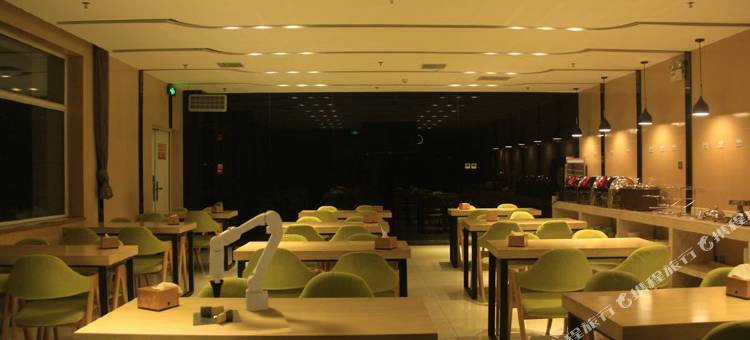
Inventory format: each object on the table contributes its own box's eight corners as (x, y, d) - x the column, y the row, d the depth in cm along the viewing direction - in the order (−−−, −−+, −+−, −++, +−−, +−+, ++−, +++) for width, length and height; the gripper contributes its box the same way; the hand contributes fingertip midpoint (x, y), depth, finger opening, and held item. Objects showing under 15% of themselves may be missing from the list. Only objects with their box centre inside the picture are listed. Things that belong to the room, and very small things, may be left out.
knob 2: (225, 317, 233) (224, 308, 233) (235, 317, 232) (234, 308, 232) (213, 322, 224) (213, 313, 224) (223, 323, 223) (223, 314, 223)
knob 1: (200, 316, 235) (200, 307, 235) (200, 313, 239) (200, 305, 239) (223, 314, 238) (223, 306, 238) (223, 312, 242) (223, 303, 242)
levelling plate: (237, 312, 247) (237, 308, 247) (241, 324, 226) (241, 320, 226) (193, 315, 242) (193, 311, 242) (193, 328, 221) (193, 324, 221)
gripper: (206, 263, 250) (206, 294, 250) (207, 268, 236) (207, 301, 236) (223, 262, 252) (223, 293, 252) (224, 267, 239) (224, 300, 238)
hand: (216, 297), depth 244 cm, fingers closed
